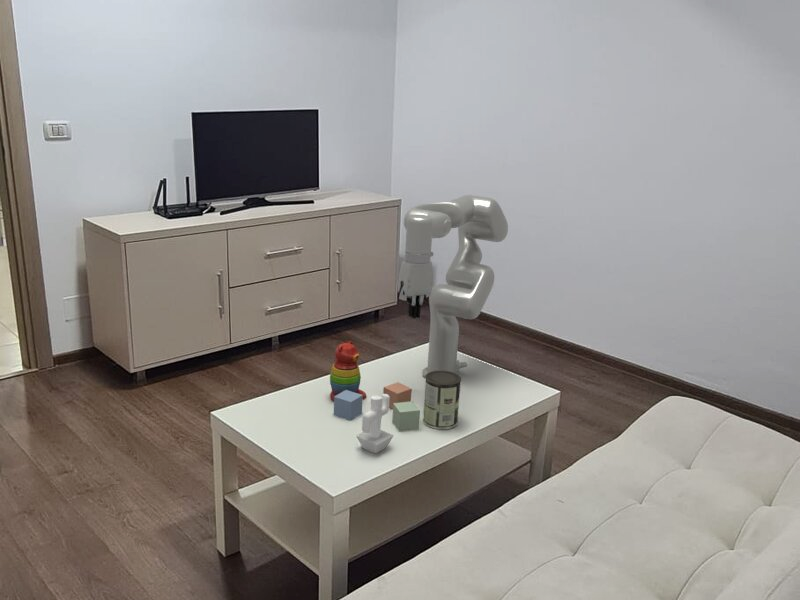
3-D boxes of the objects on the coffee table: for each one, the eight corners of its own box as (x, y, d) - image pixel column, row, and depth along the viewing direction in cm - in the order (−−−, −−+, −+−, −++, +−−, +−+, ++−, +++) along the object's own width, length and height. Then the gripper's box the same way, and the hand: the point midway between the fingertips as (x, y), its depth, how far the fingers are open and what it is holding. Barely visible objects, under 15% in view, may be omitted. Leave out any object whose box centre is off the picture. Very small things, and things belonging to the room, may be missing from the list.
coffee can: (439, 410, 224) (442, 367, 220) (464, 423, 217) (468, 378, 213) (415, 420, 217) (417, 375, 213) (440, 433, 210) (444, 387, 206)
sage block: (411, 419, 217) (412, 401, 215) (418, 429, 212) (420, 410, 210) (392, 422, 215) (393, 403, 213) (399, 431, 210) (400, 412, 208)
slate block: (345, 408, 222) (345, 389, 221) (361, 413, 220) (362, 395, 218) (333, 415, 217) (334, 396, 216) (350, 421, 215) (351, 402, 213)
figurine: (352, 449, 199) (354, 398, 194) (375, 437, 206) (377, 387, 201) (373, 458, 194) (376, 406, 190) (395, 445, 202) (398, 395, 197)
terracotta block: (396, 399, 230) (397, 382, 228) (410, 406, 226) (411, 388, 224) (382, 405, 226) (383, 387, 224) (396, 412, 222) (397, 393, 220)
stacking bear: (346, 408, 222) (348, 353, 217) (321, 398, 228) (322, 344, 222) (369, 397, 230) (371, 343, 225) (344, 387, 236) (346, 335, 231)
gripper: (430, 252, 224) (427, 309, 229) (389, 256, 216) (386, 316, 221) (446, 257, 218) (441, 317, 224) (403, 263, 210) (400, 324, 215)
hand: (414, 316), depth 222 cm, fingers closed
